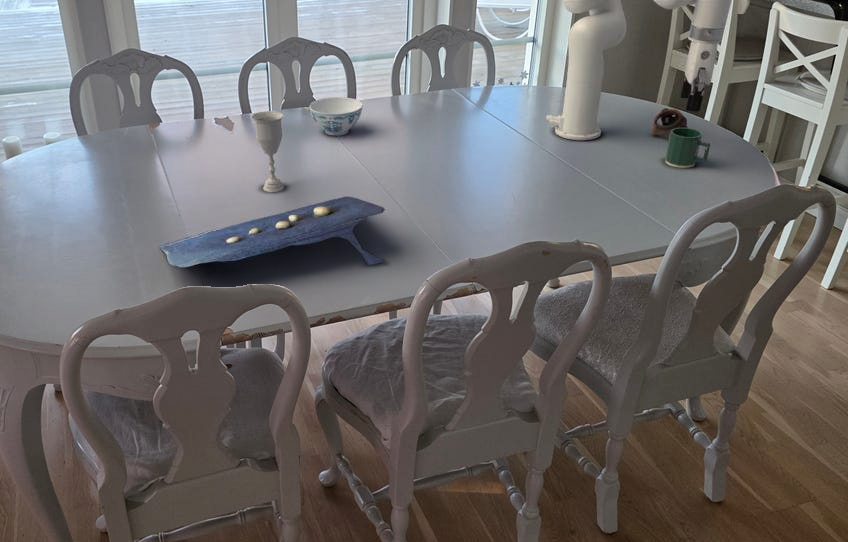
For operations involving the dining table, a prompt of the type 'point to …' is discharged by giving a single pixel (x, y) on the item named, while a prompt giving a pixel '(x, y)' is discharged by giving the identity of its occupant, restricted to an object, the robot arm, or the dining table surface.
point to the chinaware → (336, 114)
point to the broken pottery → (668, 121)
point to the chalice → (269, 143)
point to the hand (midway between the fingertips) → (689, 104)
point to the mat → (276, 233)
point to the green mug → (685, 148)
